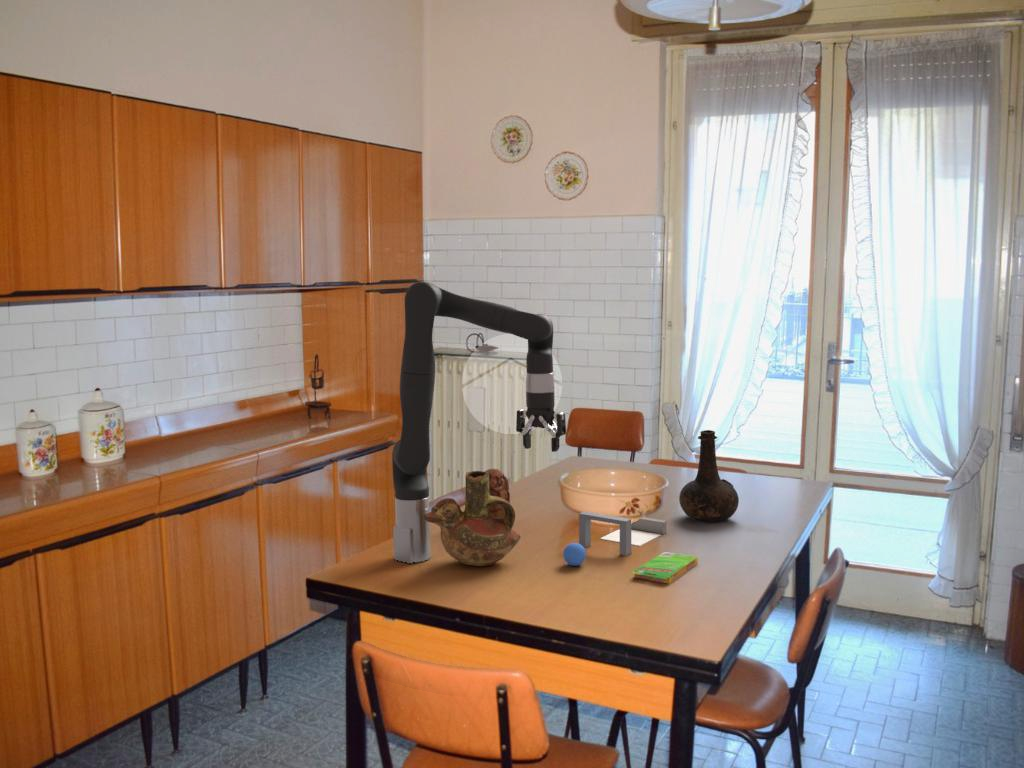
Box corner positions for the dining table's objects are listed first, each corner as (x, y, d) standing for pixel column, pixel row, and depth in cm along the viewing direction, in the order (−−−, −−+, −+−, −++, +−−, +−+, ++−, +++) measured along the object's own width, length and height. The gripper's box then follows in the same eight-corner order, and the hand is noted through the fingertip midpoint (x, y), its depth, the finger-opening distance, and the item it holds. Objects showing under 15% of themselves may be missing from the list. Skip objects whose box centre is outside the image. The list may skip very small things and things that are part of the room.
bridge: (626, 555, 253) (626, 521, 252) (579, 546, 262) (579, 513, 261) (631, 553, 256) (631, 518, 254) (584, 544, 264) (584, 511, 263)
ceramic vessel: (420, 559, 253) (418, 469, 250) (512, 550, 259) (510, 462, 256) (431, 579, 236) (429, 483, 233) (529, 569, 243) (528, 475, 240)
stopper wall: (663, 534, 273) (663, 522, 273) (624, 527, 281) (624, 516, 281) (666, 532, 275) (666, 520, 275) (627, 525, 283) (627, 514, 282)
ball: (578, 570, 242) (578, 548, 241) (559, 566, 245) (558, 544, 244) (590, 564, 246) (590, 542, 246) (571, 560, 250) (570, 538, 249)
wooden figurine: (490, 533, 277) (489, 474, 275) (474, 529, 281) (473, 471, 278) (514, 524, 286) (513, 466, 284) (498, 520, 290) (497, 464, 288)
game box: (697, 568, 246) (666, 586, 229) (663, 562, 251) (630, 580, 234) (698, 556, 246) (666, 574, 229) (664, 551, 251) (630, 568, 234)
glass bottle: (749, 523, 284) (751, 433, 280) (699, 530, 277) (700, 438, 274) (716, 509, 300) (717, 424, 297) (668, 515, 293) (669, 428, 290)
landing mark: (640, 546, 262) (640, 545, 262) (600, 538, 269) (600, 538, 269) (660, 535, 272) (661, 534, 272) (622, 528, 280) (622, 527, 280)
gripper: (509, 389, 246) (511, 449, 248) (555, 392, 238) (556, 454, 240) (525, 386, 252) (526, 445, 254) (570, 389, 244) (571, 449, 246)
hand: (541, 449), depth 247 cm, fingers open, 8 cm apart
